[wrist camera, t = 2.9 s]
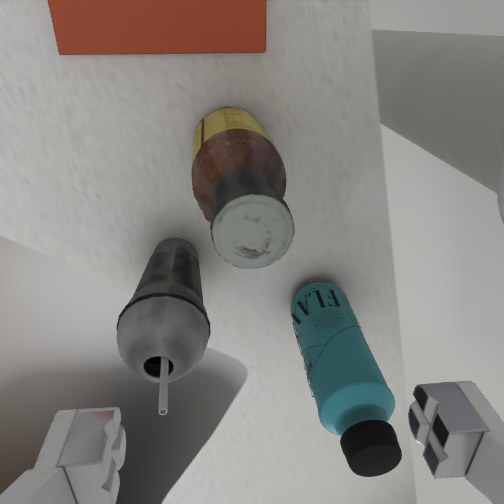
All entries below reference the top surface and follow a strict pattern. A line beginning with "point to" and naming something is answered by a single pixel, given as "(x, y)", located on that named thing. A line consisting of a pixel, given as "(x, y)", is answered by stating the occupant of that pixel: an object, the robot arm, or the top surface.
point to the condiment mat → (159, 26)
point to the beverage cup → (165, 318)
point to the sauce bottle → (241, 189)
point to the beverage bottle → (345, 379)
